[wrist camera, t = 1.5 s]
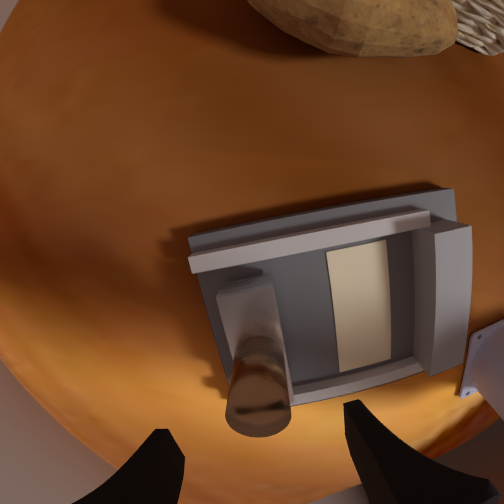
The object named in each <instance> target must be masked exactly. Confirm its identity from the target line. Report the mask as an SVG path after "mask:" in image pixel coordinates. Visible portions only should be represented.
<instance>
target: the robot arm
mask: <svg viewBox="0 0 504 504" xmlns="http://www.w3.org/2000/svg"><path fill="white" fill-rule="evenodd" d="M477 391H479V393H480V394H481V395H482V396H483V397H484V398H485V399H486V401H487V402H488V403H489V404H490V405H491V406H492V407H493V409H494V410H495V411H496V412H497V413H498V414H499V416H500V417H501V418H502V419H503V420H504V319H502V320H500V321H498V322H496V323H494V324H492V325H490V326H488V327H485V328H483V329H481V330H479V331H476V332H474V333H473V334H472V335H471V337H470V342H469V349H468V355H467V360H466V366H465V371H464V375H463V380H462V385H461V389H460V393H459V397H460V398H461V399H463V398H465V397H467V396H469V395H471V394H473V393H475V392H477ZM343 406H344V422H345V436H346V440H347V444H348V447H349V451H350V455H351V457H352V460H353V462H354V465H355V467H356V470H357V472H358V475H359V477H360V480H361V482H362V485H363V487H364V489H365V492H366V495H367V497H368V500H369V504H497V502H498V501H499V499H500V496H501V495H500V493H499V492H498V490H497V488H496V487H495V486H494V485H493V484H492V483H491V482H490V480H489V479H484V478H480V477H476V476H472V475H468V474H465V473H462V472H459V471H456V470H454V469H451V468H449V467H447V466H444V465H442V464H440V463H438V462H435V461H433V460H432V459H430V458H428V457H426V456H424V455H423V454H421V453H419V452H418V451H416V450H415V449H413V448H412V447H410V446H409V445H407V444H406V443H405V442H403V441H402V440H401V439H399V438H398V437H397V436H396V435H394V434H393V433H392V432H391V431H390V430H389V429H388V428H386V427H385V426H384V425H383V424H382V423H381V422H380V421H379V420H378V419H377V418H376V417H375V416H374V415H373V414H372V413H371V412H370V411H369V410H368V409H367V407H366V406H365V405H364V404H363V403H362V401H361V400H359V399H357V400H354V401H350V402H346V403H343ZM184 464H185V456H184V455H183V453H182V451H181V450H180V448H179V447H178V445H177V443H176V442H175V440H174V438H173V436H172V435H171V433H170V431H169V430H168V429H155V430H154V431H153V432H152V433H151V434H150V436H149V437H148V438H147V439H146V440H145V441H144V443H143V444H142V445H141V446H140V447H139V448H138V450H137V451H136V452H135V453H134V454H133V455H132V456H131V457H130V459H129V460H128V461H127V462H126V463H125V464H124V465H123V466H122V467H121V468H120V469H119V470H118V471H117V472H116V473H115V474H114V475H113V476H111V477H110V479H108V480H107V481H106V482H105V483H103V484H102V485H101V486H99V487H98V488H97V489H95V490H94V491H92V492H91V493H89V494H88V495H86V496H84V497H83V498H81V499H79V500H78V501H76V502H74V503H72V504H177V503H178V499H179V494H180V490H181V486H182V481H183V476H184Z"/></svg>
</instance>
